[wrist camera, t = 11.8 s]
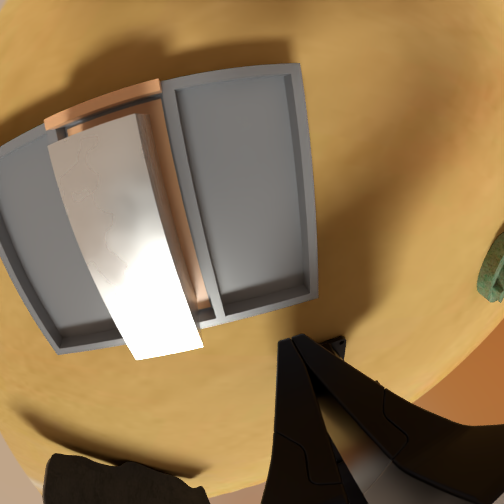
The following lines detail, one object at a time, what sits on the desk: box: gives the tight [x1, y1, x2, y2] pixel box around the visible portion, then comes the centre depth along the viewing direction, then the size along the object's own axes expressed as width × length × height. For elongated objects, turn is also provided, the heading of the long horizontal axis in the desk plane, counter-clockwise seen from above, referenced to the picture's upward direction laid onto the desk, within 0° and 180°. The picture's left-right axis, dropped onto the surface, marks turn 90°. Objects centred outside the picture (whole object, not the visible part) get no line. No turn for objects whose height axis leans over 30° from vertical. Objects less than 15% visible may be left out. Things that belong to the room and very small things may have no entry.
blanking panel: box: [47, 113, 203, 360], centre depth 14 cm, size 12×4×4 cm, turn 8°
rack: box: [0, 63, 318, 355], centre depth 15 cm, size 15×20×3 cm
